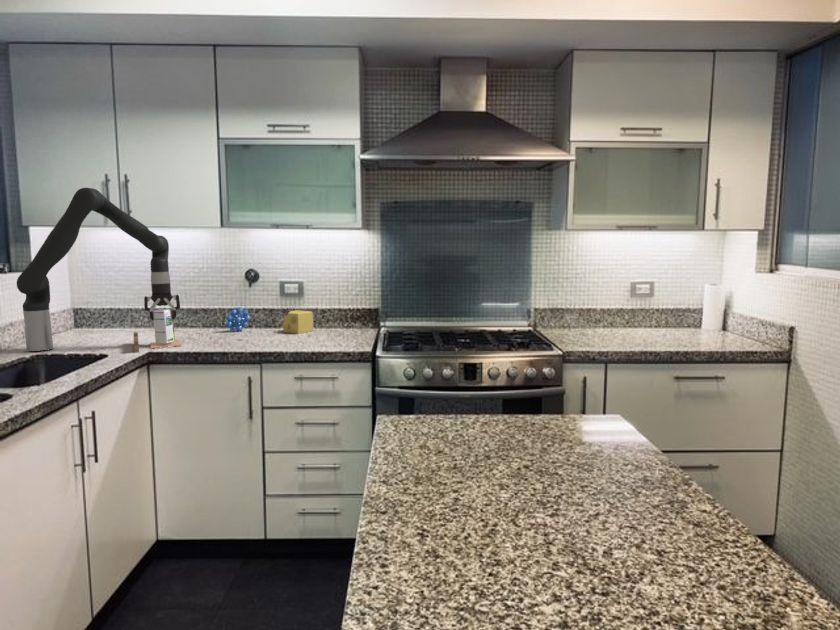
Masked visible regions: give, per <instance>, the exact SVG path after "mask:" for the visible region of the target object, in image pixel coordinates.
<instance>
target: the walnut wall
mask: <svg viewBox="0 0 840 630" xmlns="http://www.w3.org/2000/svg"><path fill="white" fill-rule="evenodd" d="M139 346H140V345H139V334H138V331H134V332H133V348H134V350H133V351H134V353H135V352H136V353H140V347H139Z"/></svg>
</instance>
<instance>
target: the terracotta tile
mask: <svg viewBox="0 0 840 630" xmlns="http://www.w3.org/2000/svg"><path fill="white" fill-rule="evenodd" d="M149 346H150V350H154V349H153V348H157V349H161V348H160V347H168V346H180V347H182V343H181V341H180V340H175V341H173V342H170V343H167V344H162V343H156V341H155V342H149Z"/></svg>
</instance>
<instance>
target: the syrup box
mask: <svg viewBox="0 0 840 630" xmlns="http://www.w3.org/2000/svg"><path fill="white" fill-rule="evenodd" d="M172 310H173V309H172V308H161V309H157V310H153V318H154V320H153V327H154V338H155V342H156V343H162V344H167V343H170V342H173V341H176V340H175V339H176V338H175V326H174V325H175V324H174V319H173V313H172Z"/></svg>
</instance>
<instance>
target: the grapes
mask: <svg viewBox="0 0 840 630" xmlns="http://www.w3.org/2000/svg"><path fill="white" fill-rule="evenodd" d="M225 319H226V321H227V322H226V323H225V326H226V328H229V331H230V332H235V331H237V332H241V331H242V330H243V328H244V329H245V328H247V327H248V326H249V323H248V322H249V321H250V320H251V316H250V315H249V310H248V309H244V308H243V307H237V309H233V308H232V310H231V311H230V314H228V315H227V316H226V318H225Z"/></svg>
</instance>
